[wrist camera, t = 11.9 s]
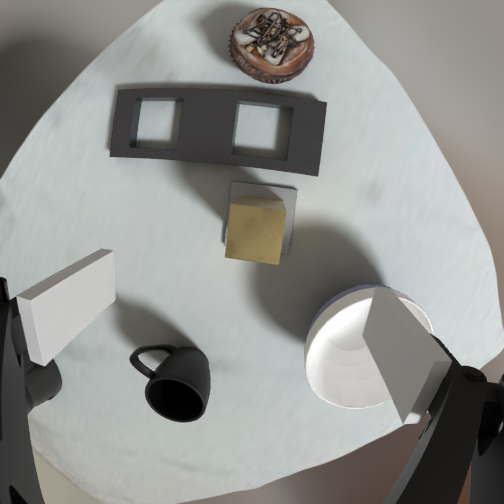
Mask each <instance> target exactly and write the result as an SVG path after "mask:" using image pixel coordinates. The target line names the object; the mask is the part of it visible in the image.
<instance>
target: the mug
mask: <svg viewBox="0 0 504 504" xmlns="http://www.w3.org/2000/svg"><path fill="white" fill-rule="evenodd" d="M150 351H163V352H166V353H167V354H169V355H170V356H168V357H167V358H166V359H165V360H164V361H163V362H162V363H161V364H160V365H159V366H158V367H157V368H156V370H155V371H152V370H151V369H149V368H148V367H146V366H145V365H144V364H143V363H142V362H141V361H140V360H139V358H138V355H139V354H141V353H145V352H150ZM130 362H131V364H132V365H133V366H134V367H135V368H136V369H137V370H138V371H139V372H140V373H142V374H143V375H145V376H146V377H148V378H149V379H150V380H149V382H148V383H147V385H146V387H145V397H146V400H147V402H148V404H149V405H150V406H151V408H152V409H153V410H154V411H155V412H157V413H158V414H159V415H161V416H163V417H164V418H166V419H169V420H172V421H176V422H192V421H195V420H197V419H199V418H200V417H201V416H202V415H203V414H204V412H205V409H206V406H207V403H208V399H209V395H210V380H211V378H210V370H209V362H208V359H207V357H206V356H205V354H204V353H203V352H201V351H200V350H198V349H196V348H194V347H182V348H179V349H178V350H177V349H176V348H175V347H174V346H172V345H152V346H145V347H140V348H138V349H136V350H135V351H134V352H133V353H132V354H131V356H130Z"/></svg>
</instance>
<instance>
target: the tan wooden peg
mask: <svg viewBox="0 0 504 504" xmlns="http://www.w3.org/2000/svg"><path fill="white" fill-rule="evenodd" d="M286 214H287V210H286V207H285V204H284V202H283V200H276V199H269V198H261V197H253V196H245V195H241V196H240V197H239V198H237V199H236V200H235V201H234V202H232V203H231V206H230V215H229V224H228V233H227V243H226V253H225V258H231V259H239V260H246V261H253V262H261V263H268V264H276V265H279V261H280V255H281V248H282V241H283V234H284V227H285V221H286Z"/></svg>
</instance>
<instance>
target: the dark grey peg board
mask: <svg viewBox="0 0 504 504" xmlns="http://www.w3.org/2000/svg"><path fill="white" fill-rule="evenodd" d="M142 101H183V108H182V115H181V122H180V130H179V138H178V146H177V150H172V149H152V148H136V139H137V131H138V123H139V116H140V109H141V102H142ZM240 104H243V105H254V106H263V107H272V108H280V109H287V110H293V113H292V121H291V130H290V138H289V146H288V153H287V161H284V160H276V159H269V158H261V157H253V156H244V155H234V154H233V151H234V143H235V135H236V127H237V120H238V112H239V105H240ZM326 107H327V102H322V101H316V100H310V99H304V98H297V97H290V96H283V95H275V94H267V93H257V92H247V91H235V90H219V89H196V88H149V89H126V90H118V96H117V102H116V109H115V116H114V123H113V131H112V139H111V148H110V157H126V158H149V159H166V160H181V161H194V162H206V163H217V164H227V165H236V166H245V167H254V168H262V169H270V170H277V171H284V172H291V173H298V174H305V175H311V176H318V173H319V165H320V158H321V150H322V142H323V134H324V125H325V116H326Z"/></svg>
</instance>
